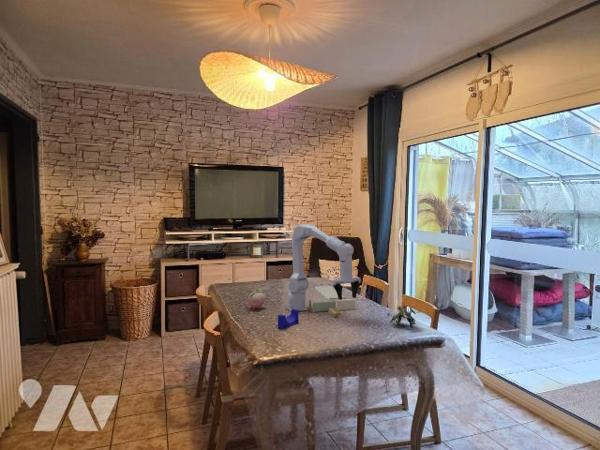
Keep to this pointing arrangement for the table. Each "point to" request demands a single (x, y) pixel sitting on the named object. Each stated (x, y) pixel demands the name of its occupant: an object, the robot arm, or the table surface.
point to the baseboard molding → (328, 292)
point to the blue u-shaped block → (288, 319)
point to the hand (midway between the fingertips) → (347, 298)
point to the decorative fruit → (256, 299)
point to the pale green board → (341, 304)
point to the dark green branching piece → (403, 314)
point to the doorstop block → (335, 313)
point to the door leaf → (323, 306)
